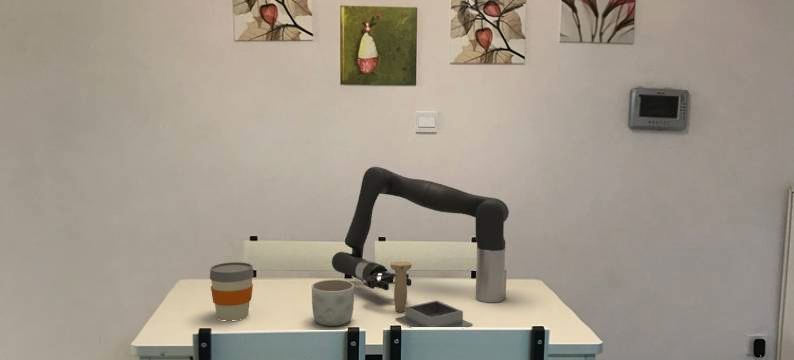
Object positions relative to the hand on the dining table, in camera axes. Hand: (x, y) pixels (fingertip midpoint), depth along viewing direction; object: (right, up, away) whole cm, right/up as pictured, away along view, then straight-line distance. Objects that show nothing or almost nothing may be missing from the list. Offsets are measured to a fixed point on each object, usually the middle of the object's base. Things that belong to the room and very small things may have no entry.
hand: (399, 285), depth 182 cm
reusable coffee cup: (-50, -8, -7) cm, 51 cm away
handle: (0, -8, 0) cm, 8 cm away
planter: (-19, -9, -10) cm, 24 cm away
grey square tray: (+10, -9, -10) cm, 17 cm away
